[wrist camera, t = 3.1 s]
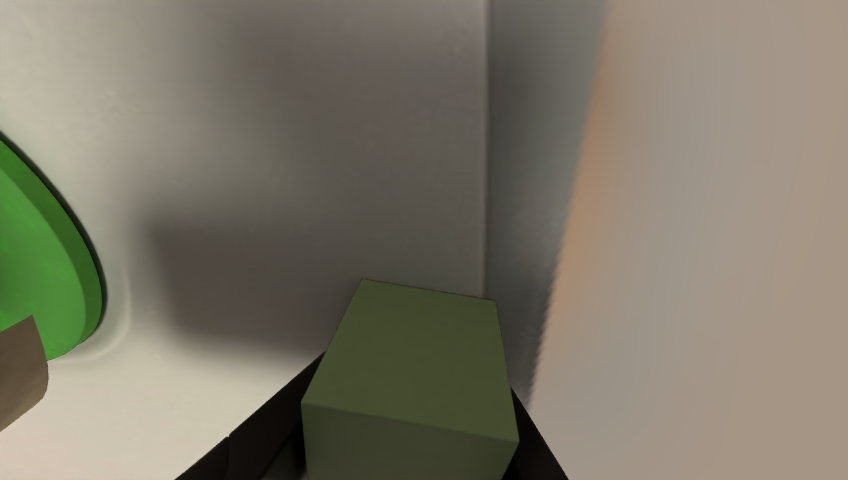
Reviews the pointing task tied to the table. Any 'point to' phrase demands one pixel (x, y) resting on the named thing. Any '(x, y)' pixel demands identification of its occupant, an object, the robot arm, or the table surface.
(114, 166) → the table surface
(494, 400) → the block
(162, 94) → the table surface
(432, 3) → the table surface
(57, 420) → the table surface
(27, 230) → the toy mushroom figurine
